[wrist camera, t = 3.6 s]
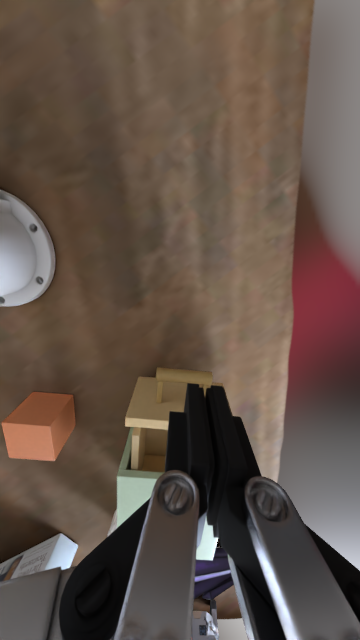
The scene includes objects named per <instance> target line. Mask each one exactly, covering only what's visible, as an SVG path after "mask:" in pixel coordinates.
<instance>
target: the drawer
mask: <svg viewBox="0 0 360 640" xmlns="http://www.w3.org/2000/svg"><path fill="white" fill-rule="evenodd" d="M212 380H213V375H212V372H206V371H194V370H183V369H171V368H159V367H158V368H157V371H156V378H152V377H140V376H139V377H138V380H137V383H136V386H135V389H134V392H133V395H132V398H131V401H130V404H129V407H128V410H127V413H126V416H125V426H127V427H134V429H133V433H132V450H131V470H136V471H150V472H165V459H166V446H167V434H168V423H169V412H170V411H174V412H184V406H185V398H186V390H187V383H192V384H199V387H202V388H203V389H204V395H205V394H206V389H207V388H210V387H211V385H216V386H223V383H212ZM223 387H224V386H223ZM224 390H225V389H224ZM225 394H226V393H225ZM226 397H227V396H226ZM227 400H228V399H227ZM228 404H229V402H228ZM229 407H230V406H229ZM230 410H231V409H230ZM231 414H232V412H231ZM232 416H233V415H232Z"/></svg>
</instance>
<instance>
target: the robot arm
mask: <svg viewBox="0 0 360 640" xmlns="http://www.w3.org/2000/svg"><path fill="white" fill-rule="evenodd" d="M54 271H55V252H54V246H53V243H52V240H51V237H50V235H49V233H48V231H47V229H46V227H45V225H44V224H43V222H42V221H41V219H40V218H39V217H38V216H37V214H36V213H35V212H34V211H33V210H32V209H31V208H30V207H29V206H28V205H27V204H26V203H24V202H23V201H21V200H20V199H18V198H17V197H16V196H14V195H12V194H10V193H8V192H5V191H3V190H0V306H7V307H12V306H19V305H22V304H25V303H28V302H31V301H33V300H35V299H37V298H38V297H39V296H41V295H42V294H43V293H44V292H45V291H46V289H47V288H48V287H49V285H50V283H51V281H52V279H53V276H54ZM206 516H207V524H208V525H209V526H213V535H214V538H220V545H221V546H222V548H223V549H224V550H225V551H226V552H227V554H228V561H229V566H230V570H231V574H232V578H233V582H234V586H235V590H236V594H237V598H238V602H239V606H240V610H241V614H242V618H243V622H244V626H245V630H246V634H247V637H248V640H360V571H359V570H358V569H357V568H356V567H354V566H353V565H352V564H351V563H350V562H349V561H347V560H346V559H345V558H344V557H343V556H342V555H340V554H339V553H338V552H337V551H336V550H335V549H333V548H332V547H331V546H330V545H329V544H327V543H326V542H325V541H324V540H323V539H322V538H320V537H319V536H318V535H317V534H316V533H315V532H313V531H312V530H311V529H310V528H309V527H308V526H306V525H305V524H304V523H303V521H302V519H301V517H300V516H299V514H298V512H297V510H296V508H295V507H294V505H293V503H292V501H291V499H290V498H289V496H288V495H287V493H286V492H285V490H284V489H282V487H281V486H280V485H279V484H277V483H276V482H274V481H273V480H271V479H269V478H266V477H262V476H261V473H260V470H259V468H258V465H257V462H256V459H255V456H254V453H253V450H252V448H251V445H250V442H249V439H248V436H247V433H246V430H245V428H244V425H243V422H242V420H241V418H240V417H236V416H232V414H231V410H230V407H229V404H228V400H227V397H226V394H225V390H224V387H223V386H216V385H211V387H210V388H207V389H206V394H205V395H204V389H203V388H202V387H199V384H192V383H187V390H186V398H185V406H184V412H174V411H170V412H169V423H168V434H167V446H166V459H165V472H164V474H162V475H161V476H160V477H159V478H158V479H157V480H156V482H155V485H154V487H153V491H152V494H151V497H150V498H149V499H148V500H147V501H146V502H145V503H144V504H143V505H142V506H141V507H140V508H138V509H137V510H136V511H135V512H134V513H133V514H132V515H131V516H130V517H129V518H128V519H126V520H125V521H124V522H123V523H122V524H121V525H120V526H119V527H118V528H117V529H116V530H115V531H113V532H112V533H111V534H110V535H109V536H108V537H107V538H106V539H105V540H104V541H103V542H102V543H100V544H99V545H98V546H97V547H96V548H95V549H94V550H93V551H92V552H91V553H90V554H88V555H87V556H86V557H85V558H84V559H83V560H82V561H81V562H80V563H79V564H78V566H75V567H71V568H67V569H63V570H61V566H60V567H56V568H52V569H48V570H45V571H41V572H37V573H33V574H29V575H25V576H21V577H17V578H13V579H10V580H6V581H2V582H0V640H191V634H192V617H193V601H194V584H195V567H196V550H197V548H198V547H199V545H200V544H201V539H202V534H203V530H204V525H205V520H206Z"/></svg>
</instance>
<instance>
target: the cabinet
mask: <svg viewBox="0 0 360 640" xmlns="http://www.w3.org/2000/svg"><path fill="white" fill-rule="evenodd" d="M133 429H134V427H131V428H130V431H129V435H128V438H127V442H126V445H125V449H124V452H123V456H122V460H121V463H120V467H119V470H118V474H117V528H118V527H119V526H120V525H121V524H122V523H123V522H124V521H125V520H126V519H128V518H129V517H130V516H131V515H132V514H133V513H134V512H135V511H136V510H137V509H138V508H140V507H141V506H142V505H143V504H144V503H145V502H146V501H147V500H148V499H149V498H150V497H151V494H152V491H153V487H154V485H155V482H156V480H157V479H158V478H159V477H160V476H161V475H162V474H164V472H150V471H136V470H131V450H132V433H133ZM217 540H218V538H214V535H213V526H209V525H208V524H207V516H206V520H205V525H204V530H203V534H202V539H201V544H200V545H199V547H198V548H197V550H196V559H198V560H213V557H214V552H215V548H216V544H217Z"/></svg>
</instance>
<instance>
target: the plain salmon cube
mask: <svg viewBox="0 0 360 640" xmlns="http://www.w3.org/2000/svg"><path fill="white" fill-rule="evenodd" d="M1 423H2V428H3V432H4V437H5V441H6V445H7V450H8V454H9V458H19V459H33V460H47V461H55V459H56V458H57V456H58V454H59V453H60V451H61V449H62V448H63V446H64V444H65V443H66V441H67V439H68V438H69V436H70V434H71V433H72V431H73V429H74V427H75V426H76V424H75V412H74V400H73V395H69V394H56V393H44V392H32V393H31V394H30V395H29V396H28V397H27V398H26V399H25V400H24V401H23V402H22V403H21V404H20V405H19V406H18V407H17V408H16V409H15V410H14V411H13V412H12V413H11V414H10V415H9V416H8V417H7V418H6V419H5V420H3V421H2V422H1Z"/></svg>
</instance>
